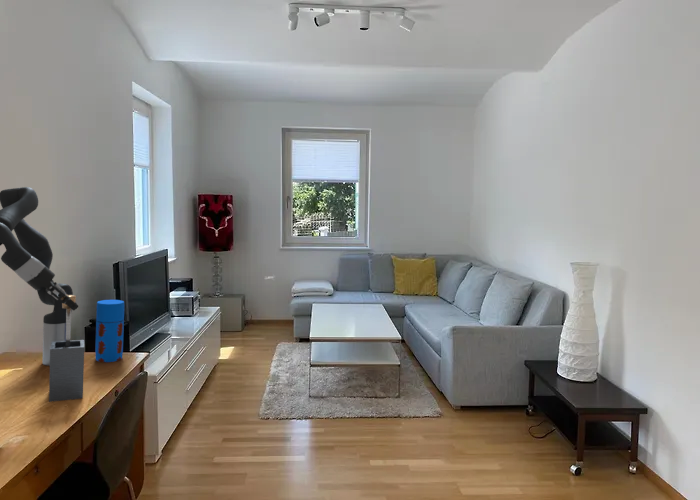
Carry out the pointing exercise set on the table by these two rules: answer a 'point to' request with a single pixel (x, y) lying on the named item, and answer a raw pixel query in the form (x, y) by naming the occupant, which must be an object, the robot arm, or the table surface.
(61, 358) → the press tower
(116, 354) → the thermos
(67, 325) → the plunger
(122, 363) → the table surface
